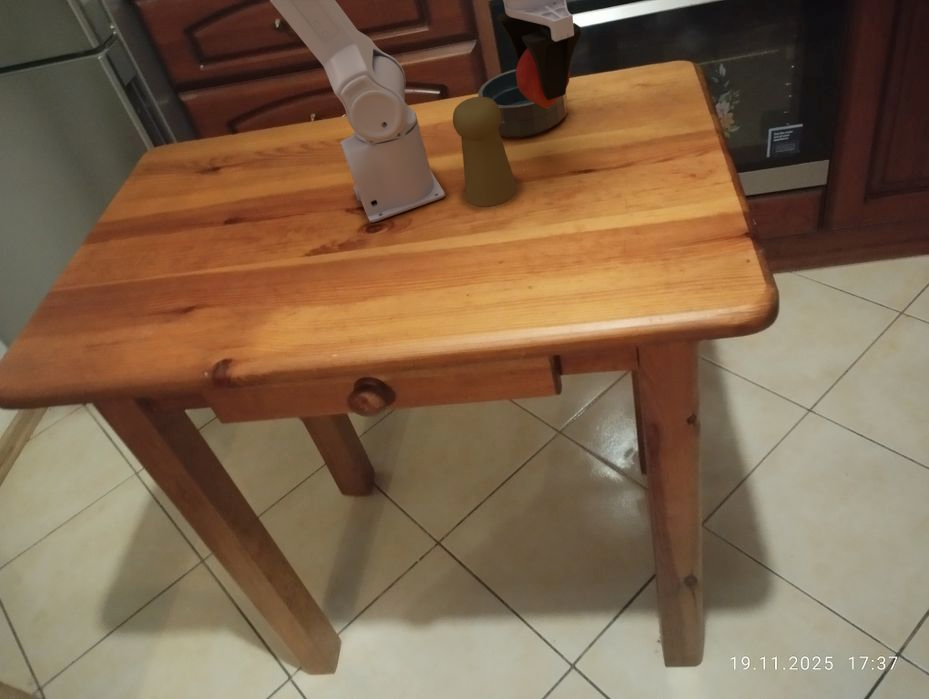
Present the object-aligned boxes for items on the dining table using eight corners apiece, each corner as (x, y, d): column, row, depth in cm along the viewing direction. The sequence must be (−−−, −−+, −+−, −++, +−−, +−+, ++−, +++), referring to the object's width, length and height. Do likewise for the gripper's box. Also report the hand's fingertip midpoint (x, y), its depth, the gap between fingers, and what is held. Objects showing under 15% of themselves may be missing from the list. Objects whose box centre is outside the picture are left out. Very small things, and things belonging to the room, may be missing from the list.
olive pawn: (457, 190, 81) (437, 103, 73) (502, 171, 82) (486, 83, 74) (479, 213, 76) (459, 122, 69) (526, 192, 77) (511, 101, 70)
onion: (513, 106, 78) (502, 35, 73) (558, 89, 79) (550, 18, 73) (533, 124, 74) (523, 51, 68) (581, 107, 75) (575, 33, 69)
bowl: (501, 149, 86) (495, 116, 82) (473, 116, 94) (466, 85, 90) (582, 121, 87) (579, 87, 83) (547, 90, 95) (543, 58, 91)
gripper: (599, -47, 60) (607, 98, 70) (538, -76, 71) (551, 54, 80) (526, -23, 60) (544, 120, 69) (475, -56, 70) (496, 72, 80)
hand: (544, 86), depth 75 cm, fingers closed on onion, 6 cm apart
